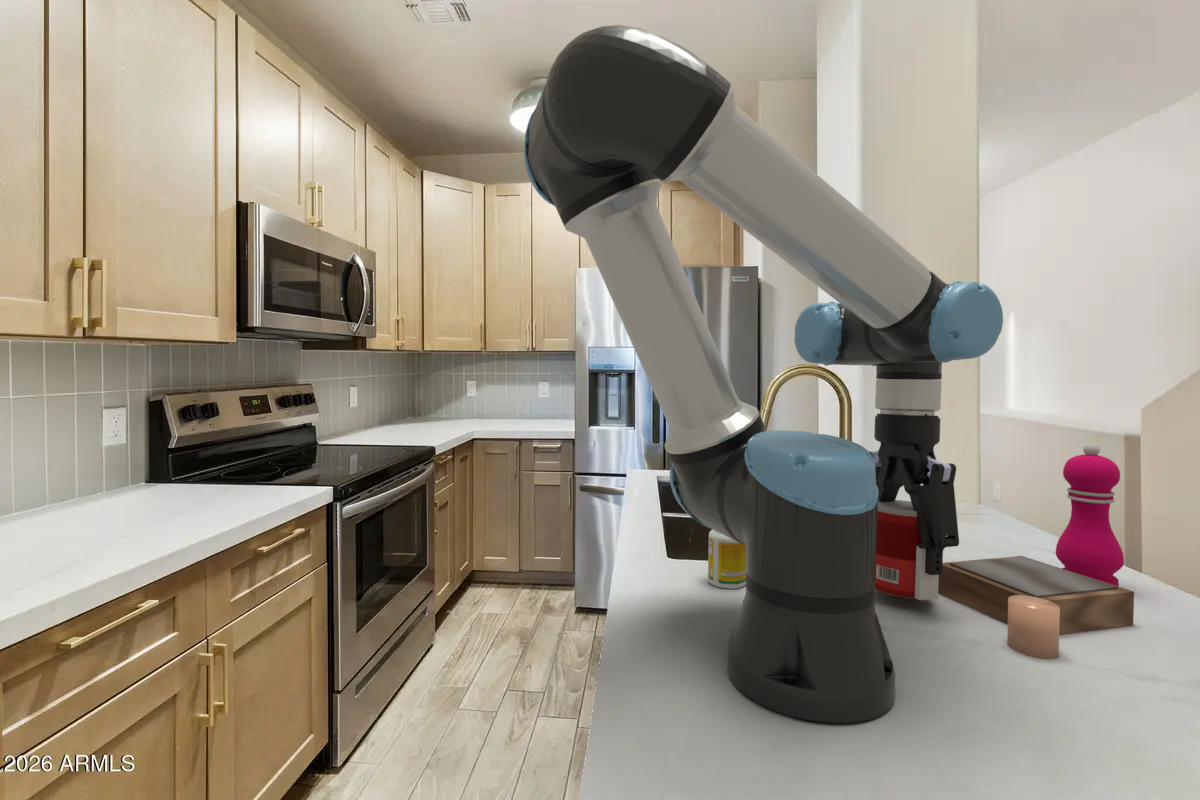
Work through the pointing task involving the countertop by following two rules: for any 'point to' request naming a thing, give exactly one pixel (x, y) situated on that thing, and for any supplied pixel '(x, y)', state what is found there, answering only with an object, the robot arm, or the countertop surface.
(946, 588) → the wooden box
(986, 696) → the countertop surface
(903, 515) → the canned food
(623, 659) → the countertop surface
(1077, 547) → the pepper mill
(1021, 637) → the peach pillar candle
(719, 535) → the supplement bottle
